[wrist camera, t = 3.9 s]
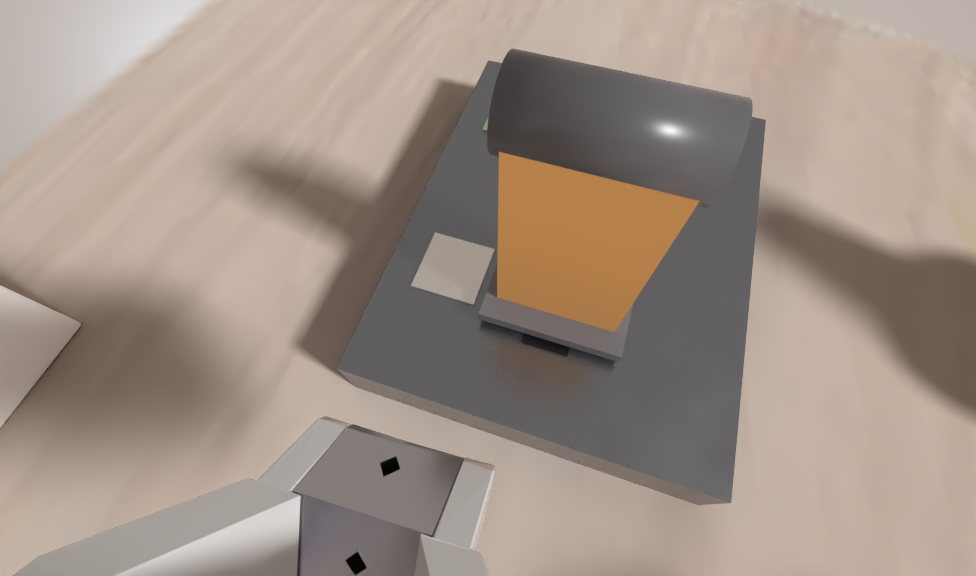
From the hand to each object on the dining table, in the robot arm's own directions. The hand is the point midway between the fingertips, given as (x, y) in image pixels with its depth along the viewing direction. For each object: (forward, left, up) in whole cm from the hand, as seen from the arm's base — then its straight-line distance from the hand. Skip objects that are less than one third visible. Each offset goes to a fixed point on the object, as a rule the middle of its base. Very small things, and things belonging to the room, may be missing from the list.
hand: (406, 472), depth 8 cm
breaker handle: (+9, +3, -10) cm, 13 cm away
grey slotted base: (+12, +5, -13) cm, 19 cm away
